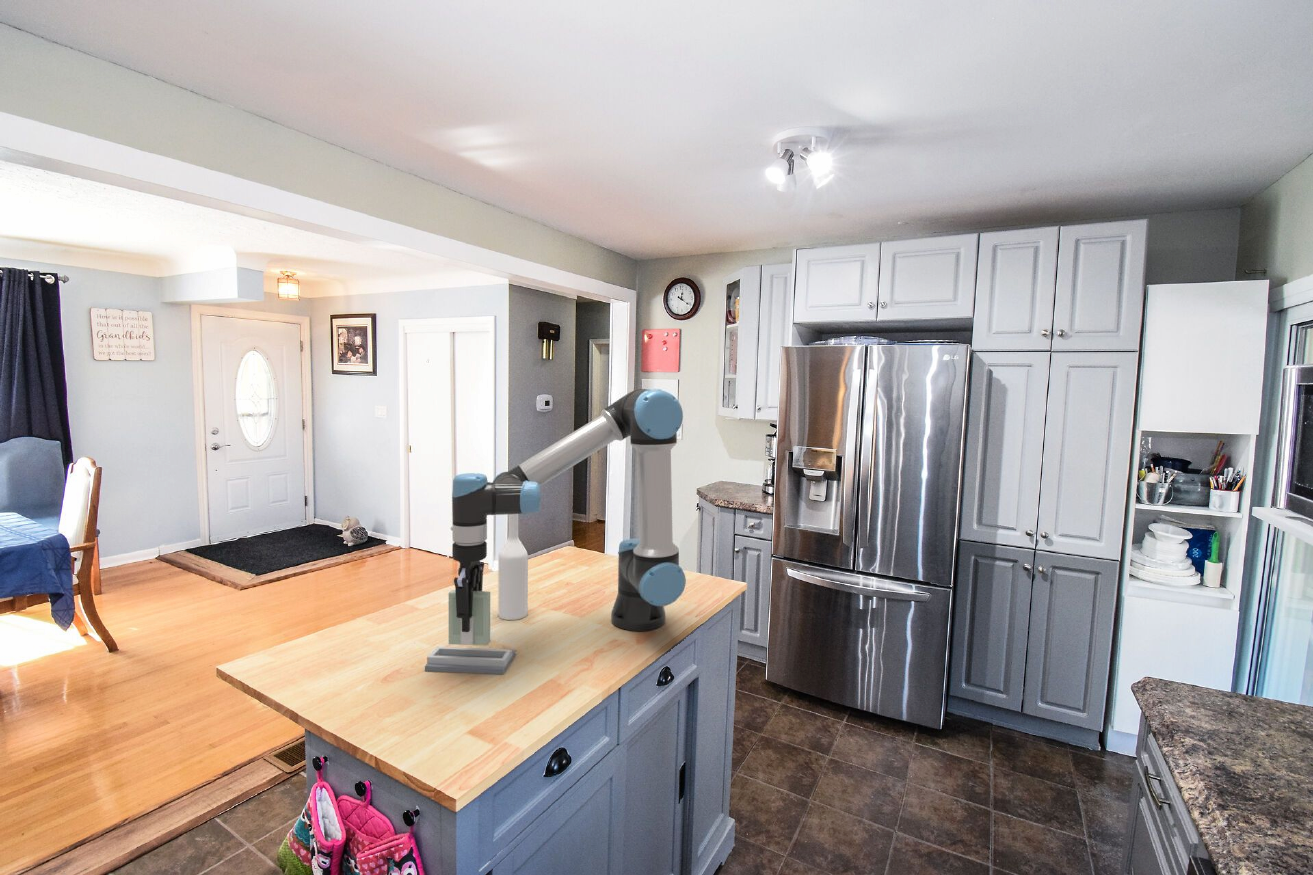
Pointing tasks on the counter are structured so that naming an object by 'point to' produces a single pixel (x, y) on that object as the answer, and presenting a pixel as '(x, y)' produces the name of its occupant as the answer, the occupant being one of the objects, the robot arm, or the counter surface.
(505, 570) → the bottle
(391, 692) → the counter surface
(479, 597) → the door panel
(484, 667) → the base
